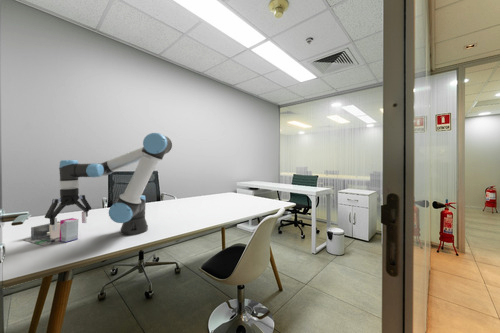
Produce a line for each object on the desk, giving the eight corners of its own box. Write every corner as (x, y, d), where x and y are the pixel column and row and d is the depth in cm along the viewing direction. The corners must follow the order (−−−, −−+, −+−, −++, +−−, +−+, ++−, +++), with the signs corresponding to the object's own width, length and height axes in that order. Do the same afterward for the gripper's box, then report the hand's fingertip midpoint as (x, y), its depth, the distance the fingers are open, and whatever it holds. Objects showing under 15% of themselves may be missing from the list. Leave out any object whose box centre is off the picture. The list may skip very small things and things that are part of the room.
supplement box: (78, 239, 110) (78, 218, 110) (65, 243, 104) (66, 221, 104) (71, 237, 112) (72, 217, 112) (58, 241, 106) (59, 220, 106)
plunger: (68, 234, 114) (68, 221, 114) (37, 243, 102) (37, 228, 102) (59, 232, 117) (59, 219, 117) (28, 240, 104) (28, 225, 104)
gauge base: (78, 235, 115) (78, 225, 115) (43, 245, 100) (43, 234, 100) (58, 231, 121) (58, 221, 121) (23, 240, 106) (23, 229, 106)
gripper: (89, 185, 120) (90, 219, 121) (34, 191, 97) (35, 233, 97) (98, 185, 118) (98, 220, 118) (43, 191, 94) (44, 235, 95)
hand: (70, 226), depth 108 cm, fingers open, 13 cm apart
